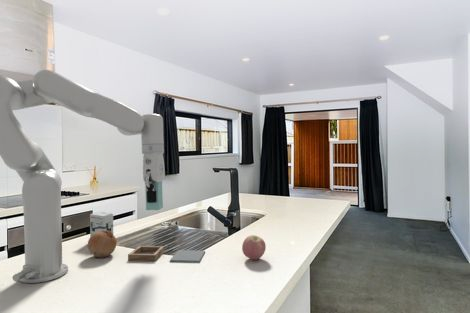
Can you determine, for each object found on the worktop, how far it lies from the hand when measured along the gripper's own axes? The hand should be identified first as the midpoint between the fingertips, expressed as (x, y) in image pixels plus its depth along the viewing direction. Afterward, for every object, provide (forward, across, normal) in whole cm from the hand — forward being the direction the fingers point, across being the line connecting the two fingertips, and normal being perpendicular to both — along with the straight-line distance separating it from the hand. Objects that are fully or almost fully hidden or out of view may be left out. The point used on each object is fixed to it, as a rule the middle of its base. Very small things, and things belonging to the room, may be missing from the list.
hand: (154, 200), depth 107 cm
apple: (+20, -2, -35) cm, 40 cm away
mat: (+20, -1, -12) cm, 23 cm away
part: (+3, 0, 0) cm, 3 cm away
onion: (+20, -1, +19) cm, 28 cm away
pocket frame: (+20, 0, +3) cm, 20 cm away
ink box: (+20, +15, +28) cm, 37 cm away
